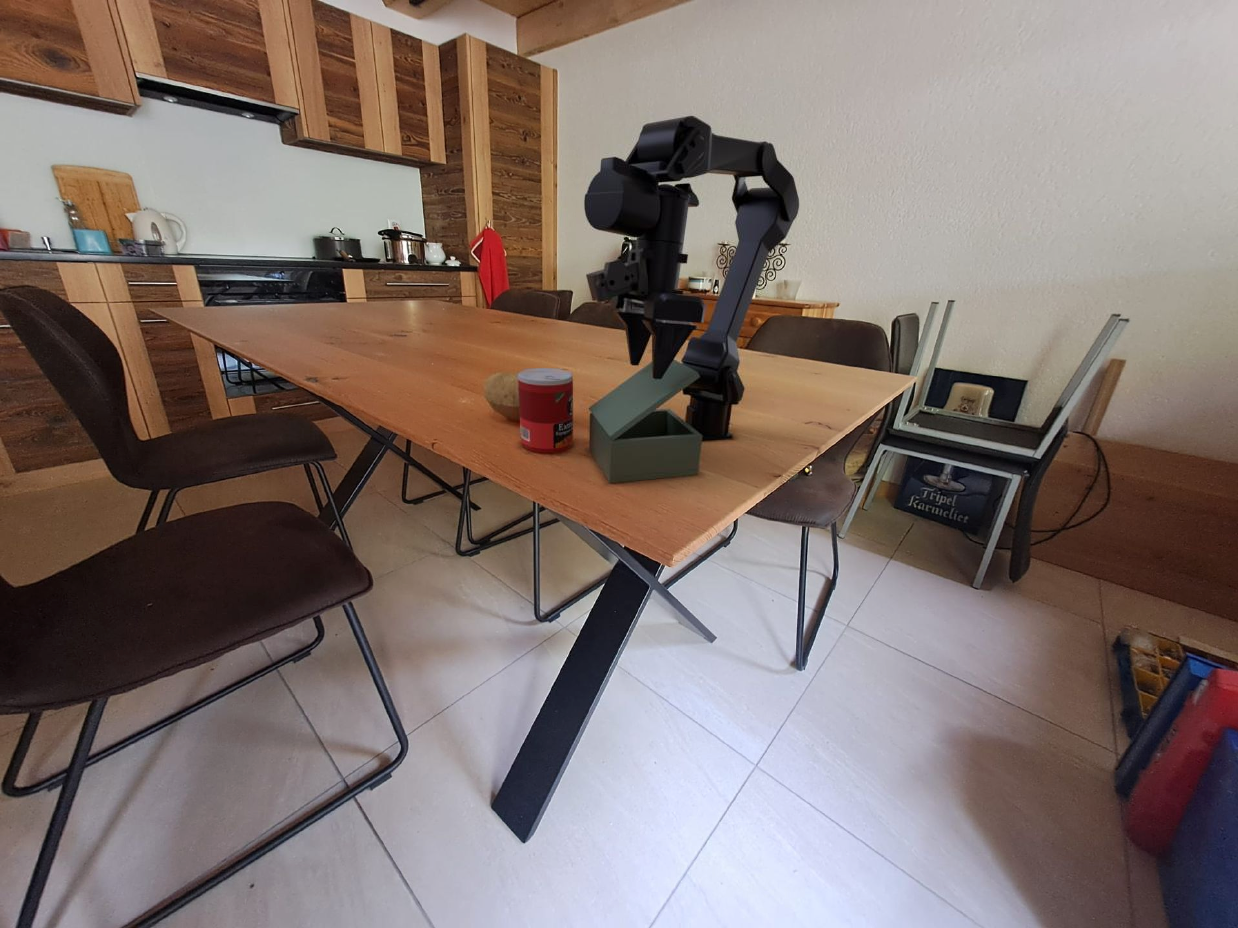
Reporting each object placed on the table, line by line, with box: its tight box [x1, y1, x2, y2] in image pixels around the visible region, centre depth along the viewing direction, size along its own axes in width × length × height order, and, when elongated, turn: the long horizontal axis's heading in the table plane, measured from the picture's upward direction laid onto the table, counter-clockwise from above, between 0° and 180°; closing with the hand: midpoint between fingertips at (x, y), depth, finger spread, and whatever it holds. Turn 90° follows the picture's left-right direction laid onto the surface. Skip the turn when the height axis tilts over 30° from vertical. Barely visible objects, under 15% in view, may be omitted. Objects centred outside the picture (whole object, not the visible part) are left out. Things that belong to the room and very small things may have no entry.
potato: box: [482, 372, 520, 423], centre depth 81 cm, size 10×14×8 cm
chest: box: [588, 408, 703, 484], centre depth 67 cm, size 13×12×6 cm
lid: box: [588, 359, 700, 440], centre depth 63 cm, size 14×12×1 cm
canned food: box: [517, 367, 574, 455], centre depth 70 cm, size 8×8×11 cm
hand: (645, 371), depth 63 cm, fingers open, 9 cm apart
